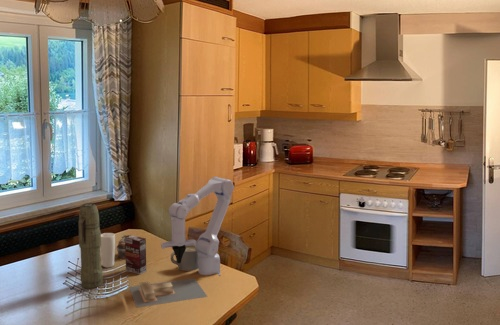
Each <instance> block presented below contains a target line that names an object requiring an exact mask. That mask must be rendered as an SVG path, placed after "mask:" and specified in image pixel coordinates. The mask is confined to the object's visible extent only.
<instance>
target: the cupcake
mask: <svg viewBox="0 0 500 325" xmlns="http://www.w3.org/2000/svg"><path fill="white" fill-rule="evenodd" d="M131 235H132V234H130V235H128V234H127V235H124V234H123V235H121V239H119V241H118V244H117V245H116V250H117V254H118V257H119V258H120V259H125V260H126V257H125V238H126V237H128V236H131Z"/></svg>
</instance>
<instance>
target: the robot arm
mask: <svg viewBox="0 0 500 325" xmlns="http://www.w3.org/2000/svg"><path fill="white" fill-rule="evenodd" d="M234 189H235V186H234V183H233V180H231V179H227V178H223V177H219V176H213V177H212V178H211V179H209V180H208V182H207V183H206V184H205V185H204V186H202V187H201V188H200V189H198V191H197V192H195V193H188V194H186V196H185V197H183V198H182V199H180V200H179V201H178V202H173V203H171V205H170V206H169V209H167V212H168V215H169V216H170V221H171V222H170V224H171V225H170V226H171V240H170V241H169V240H168V241H165V242H161V243H160V248H161V249H163V250H164V249H165V248H166V249H167V248H168V249H169V248H171V249H172V250H173V251H172V252H174V253H175V255H174V257H175V261H177V263H181V260H182V256H183V254H184V252H185V250H186V247H185V245H195V250H196V251H197V254H198V274H199V275H202V276H210V275H214V274H217V275H218V276H221V259H220V258H221V257H220V254H218V250H219V245H220V241H219V238H218V234H219V232H220V230H221V226H222V223H223V221H224V218H225V216H226V214H227V211H228V209H229V205H230V204H231V200H232V194H233V193H234V192H233V191H234ZM212 193H214V195H215V196H216V199H217V201H216V203H215V206H214V209H213V211H212V214H211V217H210V219H209V221H208V224H207V226H206V229H205V232H202V233H201V234H200V235H199V237H198V239H197V240H196V239H194V238H193V239H186V217H187V216H188V214H189V212H190V211H192V209H194V208H195V207H197V206H199V203H200V201H201V200H202V199H204V198H205V197H207V196H209V195H210V194H212Z"/></svg>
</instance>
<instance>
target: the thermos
mask: <svg viewBox="0 0 500 325" xmlns="http://www.w3.org/2000/svg"><path fill="white" fill-rule="evenodd" d="M78 216H79V219H78V221H77V222H78V226H77V227H78V228H77V229H78V246H79V249H80V264H81V265H80V266H81V268H80V271H79V276H80V283H81V284H80V285H81V286H80V287H81V288H82V289H85V290H93V289H98V288H100V287H102V286H103V284H102V283H103V268H102V267H103V266H102V262H101V261H102V255H101V247H100V246H101V234H102V232H101V226H100V214H99V210H98V207H97V205H96V204H95V203H92V202H90V203H89V202H88V203H83V204H82V205H80V207H79V211H78ZM101 285H102V286H101ZM99 286H100V287H99ZM97 287H98V288H97Z"/></svg>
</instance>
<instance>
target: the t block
mask: <svg viewBox="0 0 500 325" xmlns="http://www.w3.org/2000/svg"><path fill="white" fill-rule="evenodd" d="M168 282H169V283H162V282H161V283H162V284H155V283H154V284H155V285H151V284H152V283H151V281H150V280H149V281H142V282H139V286H140V291H141V294H142V296H143V298H144V301H145V302H146V301H152V300H155V296H156V295H163V294H170V293H173V285H172V284H171V282H170V281H168Z"/></svg>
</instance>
